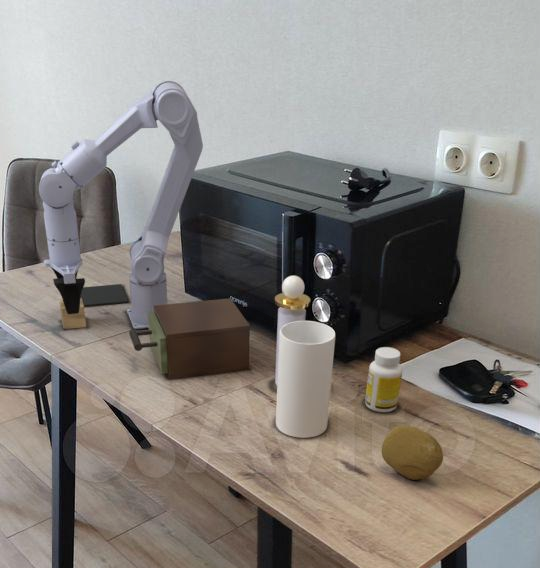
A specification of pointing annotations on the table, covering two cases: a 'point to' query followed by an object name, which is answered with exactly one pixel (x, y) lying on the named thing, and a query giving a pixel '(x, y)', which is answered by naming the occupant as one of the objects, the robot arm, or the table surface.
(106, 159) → the robot arm
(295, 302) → the perfume bottle
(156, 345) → the drawer
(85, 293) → the mat
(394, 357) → the supplement bottle
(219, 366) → the cabinet
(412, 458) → the potato
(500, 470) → the table surface
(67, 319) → the block
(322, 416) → the cup
